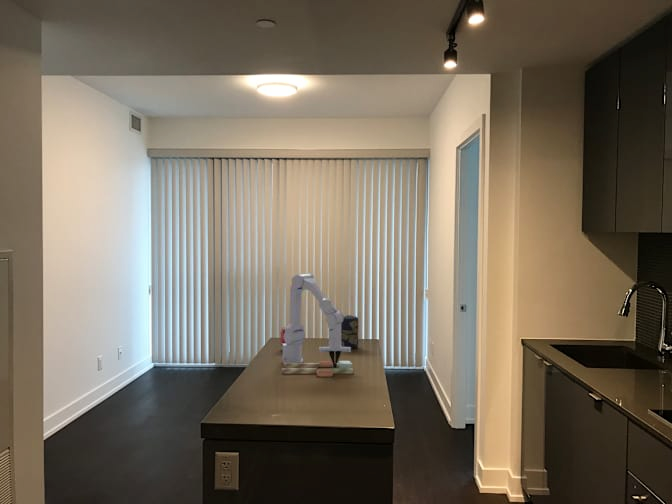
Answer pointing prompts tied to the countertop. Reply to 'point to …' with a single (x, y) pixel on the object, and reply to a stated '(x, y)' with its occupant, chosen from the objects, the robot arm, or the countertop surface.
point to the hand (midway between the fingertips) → (334, 367)
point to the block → (344, 364)
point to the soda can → (282, 337)
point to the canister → (349, 332)
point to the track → (311, 368)
